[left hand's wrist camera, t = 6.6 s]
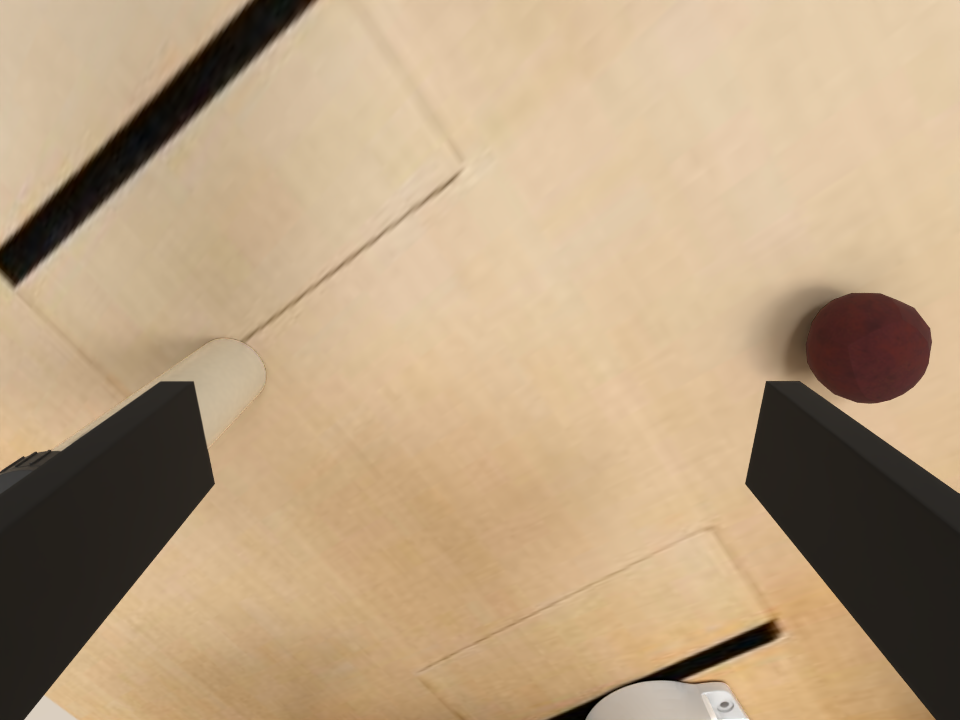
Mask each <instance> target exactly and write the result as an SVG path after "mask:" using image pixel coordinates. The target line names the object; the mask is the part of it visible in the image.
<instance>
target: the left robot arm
mask: <svg viewBox="0 0 960 720" xmlns="http://www.w3.org/2000/svg"><path fill="white" fill-rule="evenodd" d="M214 484H215V483H214V478H213V473H212V468H211V463H210V458H209V453H208V448H207V443H206V438H205V433H204V429H203V424H202V419H201V414H200V409H199V404H198V399H197V394H196V389H195V384H194V381H160V382H159V383H157V384H156V385H154V386H153V387H152V388H150V389H149V390H147V391H146V392H144V393H143V394H142V395H140V396H139V397H137V398H136V399H134V400H133V401H132V402H130V403H129V404H127V405H126V406H125V407H123V408H122V409H120V410H119V411H117V412H116V413H115V414H113V415H112V416H110V417H109V418H108V419H106V420H105V421H103V422H102V423H100V424H99V425H98V426H96V427H95V428H93V429H92V430H90V431H89V432H88V433H86V434H85V435H83V436H82V437H81V438H79V439H78V440H76V441H75V442H73V443H72V444H71V445H69V446H68V447H66V448H65V449H64V450H62V451H61V452H59V453H58V454H56V455H55V456H54V457H52V458H51V459H49V460H48V461H47V462H45V463H44V464H42V465H41V466H39V467H38V468H37V469H35V470H34V471H32V472H31V473H29V474H28V475H27V476H25V477H24V478H22V479H21V480H20V481H18V482H17V483H15V484H14V485H12V486H11V487H10V488H8V489H7V490H5V491H4V492H3V493H1V494H0V720H24V719H25V718H26V717H27V715H28V714H29V713H30V712H31V710H32V709H33V708H34V707H35V705H36V704H37V703H38V702H39V701H40V699H41V698H42V697H43V696H44V694H45V693H46V692H47V691H48V689H49V688H50V687H51V686H52V684H53V683H54V682H55V681H56V680H57V678H58V677H59V676H60V675H61V673H62V672H63V671H64V670H65V668H66V667H67V666H68V665H69V663H70V662H71V661H72V660H73V658H74V657H75V656H76V655H77V654H78V652H79V651H80V650H81V649H82V647H83V646H84V645H85V644H86V642H87V641H88V640H89V639H90V637H91V636H92V635H93V634H94V633H95V631H96V630H97V629H98V628H99V626H100V625H101V624H102V623H103V621H104V620H105V619H106V618H107V616H108V615H109V614H110V613H111V612H112V610H113V609H114V608H115V607H116V605H117V604H118V603H119V602H120V600H121V599H122V598H123V597H124V595H125V594H126V593H127V592H128V591H129V589H130V588H131V587H132V586H133V584H134V583H135V582H136V581H137V579H138V578H139V577H140V576H141V574H142V573H143V572H144V571H145V569H146V568H147V567H148V566H149V565H150V563H151V562H152V561H153V560H154V558H155V557H156V556H157V555H158V553H159V552H160V551H161V550H162V548H163V547H164V546H165V545H166V544H167V542H168V541H169V540H170V539H171V537H172V536H173V535H174V534H175V532H176V531H177V530H178V529H179V527H180V526H181V525H182V524H183V523H184V521H185V520H186V519H187V518H188V516H189V515H190V514H191V513H192V511H193V510H194V509H195V508H196V506H197V505H198V504H199V503H200V502H201V500H202V499H203V498H204V497H205V495H206V494H207V493H208V492H209V490H210V489H211V488H212V487H213V485H214ZM745 484H746V485H747V487H748V488H749V489H750V490H751V492H752V493H753V494H754V495H755V497H756V498H757V499H758V500H759V502H760V503H761V504H762V505H763V506H764V508H765V509H766V510H767V511H768V513H769V514H770V515H771V516H772V518H773V519H774V520H775V521H776V523H777V524H778V525H779V526H780V527H781V529H782V530H783V531H784V532H785V534H786V535H787V536H788V537H789V539H790V540H791V541H792V542H793V544H794V545H795V546H796V547H797V548H798V550H799V551H800V552H801V553H802V555H803V556H804V557H805V558H806V560H807V561H808V562H809V563H810V565H811V566H812V567H813V568H814V569H815V571H816V572H817V573H818V574H819V576H820V577H821V578H822V579H823V581H824V582H825V583H826V584H827V586H828V587H829V588H830V589H831V591H832V592H833V593H834V594H835V595H836V597H837V598H838V599H839V600H840V602H841V603H842V604H843V605H844V607H845V608H846V609H847V610H848V612H849V613H850V614H851V615H852V616H853V618H854V619H855V620H856V621H857V623H858V624H859V625H860V626H861V628H862V629H863V630H864V631H865V633H866V634H867V635H868V636H869V637H870V639H871V640H872V641H873V642H874V644H875V645H876V646H877V647H878V649H879V650H880V651H881V652H882V654H883V655H884V656H885V657H886V658H887V660H888V661H889V662H890V663H891V665H892V666H893V667H894V668H895V670H896V671H897V672H898V673H899V675H900V676H901V677H902V678H903V680H904V681H905V682H906V683H907V684H908V686H909V687H910V688H911V689H912V691H913V692H914V693H915V694H916V696H917V697H918V698H919V699H920V701H921V702H922V703H923V704H924V705H925V707H926V708H927V709H928V710H929V712H930V713H931V714H932V715H933V717H934V718H935V719H936V720H960V494H959V493H957V492H956V491H955V490H953V489H952V488H950V487H949V486H948V485H946V484H945V483H943V482H942V481H940V480H939V479H938V478H936V477H935V476H933V475H932V474H931V473H929V472H928V471H926V470H925V469H923V468H922V467H921V466H919V465H918V464H916V463H915V462H913V461H912V460H911V459H909V458H908V457H906V456H905V455H904V454H902V453H901V452H899V451H898V450H896V449H895V448H894V447H892V446H891V445H889V444H888V443H887V442H885V441H884V440H882V439H881V438H879V437H878V436H877V435H875V434H874V433H872V432H871V431H870V430H868V429H867V428H865V427H864V426H862V425H861V424H860V423H858V422H857V421H855V420H854V419H852V418H851V417H850V416H848V415H847V414H845V413H844V412H843V411H841V410H840V409H838V408H837V407H835V406H834V405H833V404H831V403H830V402H828V401H827V400H826V399H824V398H823V397H821V396H820V395H818V394H817V393H816V392H814V391H813V390H811V389H810V388H808V387H807V386H806V385H804V384H803V383H801V382H800V381H766V384H765V389H764V394H763V399H762V404H761V409H760V414H759V419H758V424H757V429H756V433H755V438H754V443H753V448H752V453H751V458H750V463H749V468H748V473H747V478H746V482H745Z"/></svg>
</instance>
